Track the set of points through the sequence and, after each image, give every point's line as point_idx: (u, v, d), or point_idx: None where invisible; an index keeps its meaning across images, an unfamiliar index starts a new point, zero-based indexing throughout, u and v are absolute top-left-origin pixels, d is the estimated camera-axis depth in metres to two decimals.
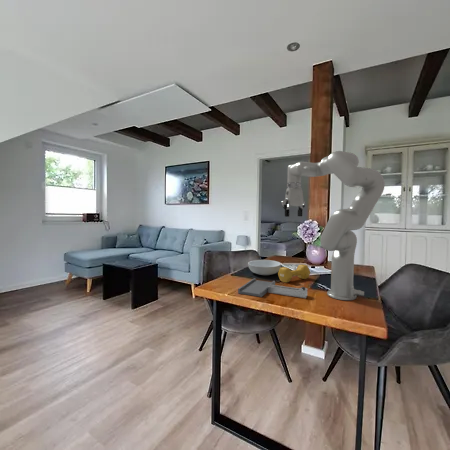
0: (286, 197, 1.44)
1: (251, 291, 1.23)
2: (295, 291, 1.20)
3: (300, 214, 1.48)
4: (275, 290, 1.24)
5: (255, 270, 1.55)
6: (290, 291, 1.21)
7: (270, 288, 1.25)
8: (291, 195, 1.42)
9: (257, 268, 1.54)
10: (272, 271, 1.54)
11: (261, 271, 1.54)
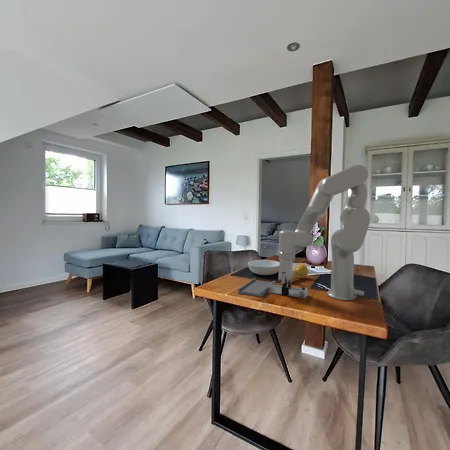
0: None
1: (251, 291, 1.23)
2: (295, 291, 1.20)
3: None
4: (275, 290, 1.24)
5: (255, 270, 1.55)
6: (290, 291, 1.21)
7: (270, 288, 1.25)
8: None
9: (257, 268, 1.54)
10: (272, 271, 1.54)
11: (261, 271, 1.54)
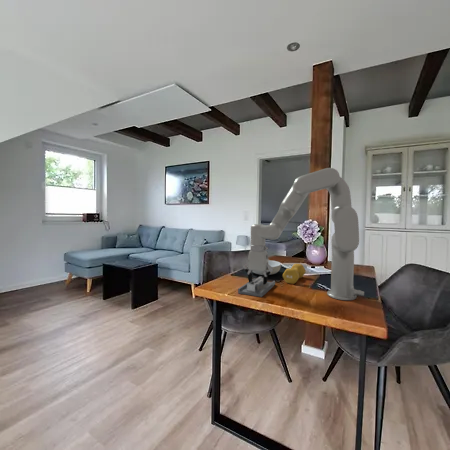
0: (266, 262, 1.28)
1: None
2: None
3: (251, 279, 1.33)
4: None
5: None
6: None
7: None
8: None
9: None
10: (272, 271, 1.54)
11: (261, 271, 1.54)
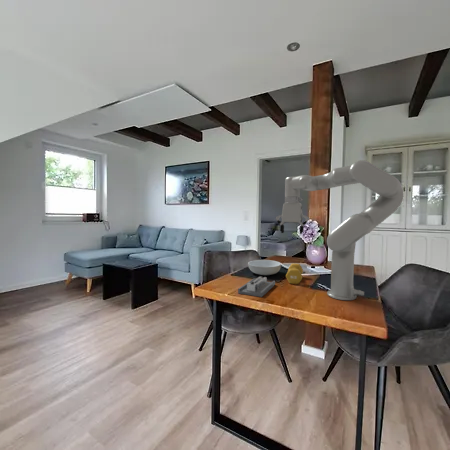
0: (301, 212, 1.31)
1: None
2: None
3: (283, 230, 1.37)
4: None
5: (255, 270, 1.55)
6: None
7: None
8: None
9: (257, 268, 1.54)
10: (272, 271, 1.54)
11: (261, 271, 1.54)
